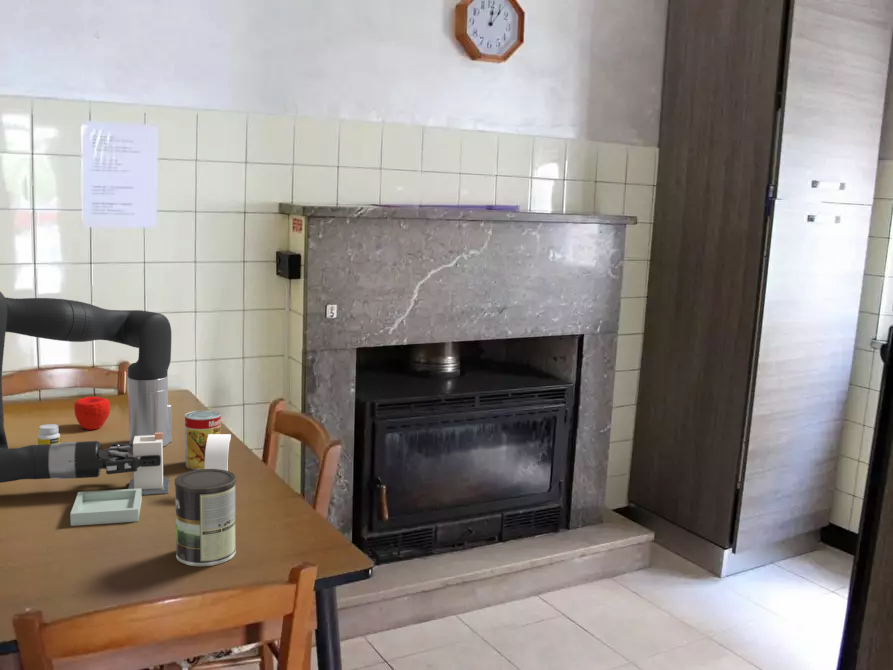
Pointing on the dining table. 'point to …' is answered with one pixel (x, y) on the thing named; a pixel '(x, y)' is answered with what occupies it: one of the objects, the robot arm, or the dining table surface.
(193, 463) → the canned food
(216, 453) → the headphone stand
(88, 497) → the tray
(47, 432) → the supplement bottle
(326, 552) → the dining table surface
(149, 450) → the open-top white box
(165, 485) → the post
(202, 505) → the coffee can
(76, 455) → the robot arm
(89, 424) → the apple
